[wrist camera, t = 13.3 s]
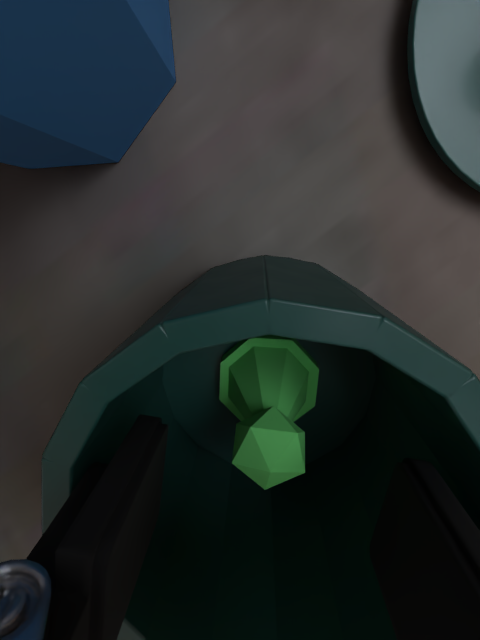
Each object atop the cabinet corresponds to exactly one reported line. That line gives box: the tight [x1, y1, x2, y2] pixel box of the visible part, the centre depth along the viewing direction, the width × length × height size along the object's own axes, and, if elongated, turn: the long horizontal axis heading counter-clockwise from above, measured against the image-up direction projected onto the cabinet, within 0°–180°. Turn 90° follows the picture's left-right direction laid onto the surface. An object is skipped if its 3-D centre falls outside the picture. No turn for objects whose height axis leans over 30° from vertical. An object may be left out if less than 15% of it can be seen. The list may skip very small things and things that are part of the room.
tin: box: [42, 255, 480, 640], centre depth 12 cm, size 10×10×8 cm
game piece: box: [219, 335, 319, 490], centre depth 13 cm, size 4×4×6 cm
